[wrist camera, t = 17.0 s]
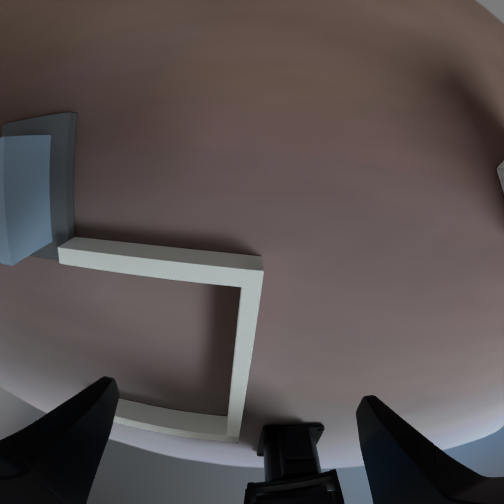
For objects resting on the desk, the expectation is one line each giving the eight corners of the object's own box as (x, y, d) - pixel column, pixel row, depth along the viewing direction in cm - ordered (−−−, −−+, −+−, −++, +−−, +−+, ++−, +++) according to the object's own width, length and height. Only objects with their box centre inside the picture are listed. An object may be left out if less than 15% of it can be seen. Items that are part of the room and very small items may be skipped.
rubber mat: (77, 257, 20) (70, 262, 19) (12, 247, 19) (6, 251, 18) (77, 113, 16) (70, 112, 15) (9, 124, 16) (2, 124, 15)
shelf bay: (238, 424, 26) (237, 442, 23) (107, 401, 25) (100, 417, 23) (262, 256, 20) (263, 271, 17) (75, 236, 19) (57, 247, 17)
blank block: (51, 134, 15) (4, 136, 11) (52, 241, 18) (12, 265, 13) (13, 140, 15) (-31, 144, 10) (16, 236, 18) (-23, 257, 13)
